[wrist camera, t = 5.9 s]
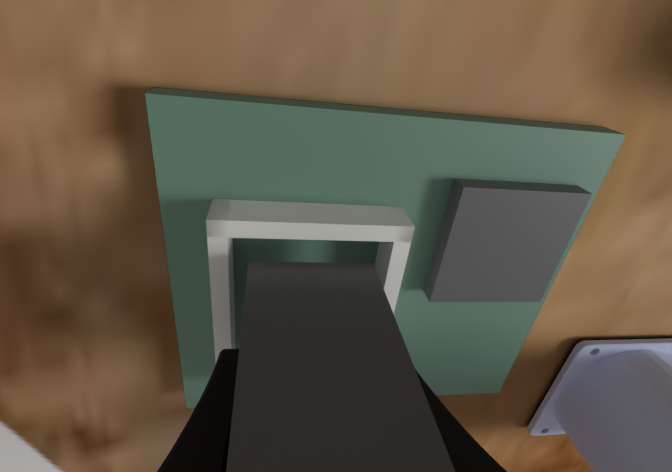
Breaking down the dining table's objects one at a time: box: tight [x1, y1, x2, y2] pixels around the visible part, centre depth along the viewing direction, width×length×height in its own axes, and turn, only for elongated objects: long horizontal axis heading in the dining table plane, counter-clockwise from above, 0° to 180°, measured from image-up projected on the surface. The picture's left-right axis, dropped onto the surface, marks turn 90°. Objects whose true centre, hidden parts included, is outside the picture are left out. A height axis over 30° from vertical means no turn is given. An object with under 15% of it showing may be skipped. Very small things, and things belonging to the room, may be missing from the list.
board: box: [145, 87, 625, 408], centre depth 15 cm, size 16×14×2 cm
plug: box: [226, 261, 455, 472], centre depth 11 cm, size 4×6×7 cm, turn 174°
